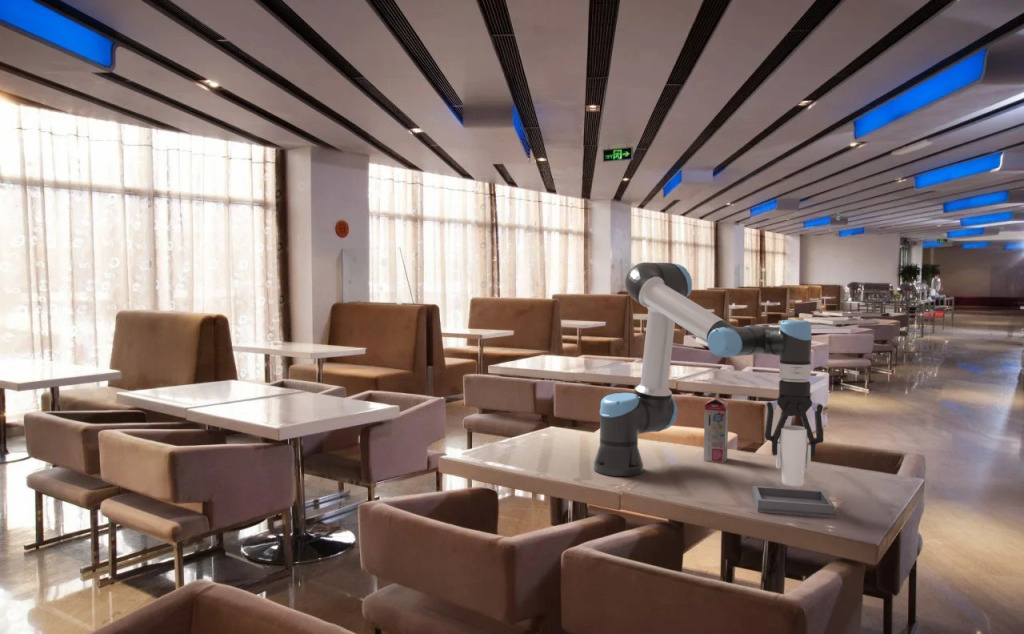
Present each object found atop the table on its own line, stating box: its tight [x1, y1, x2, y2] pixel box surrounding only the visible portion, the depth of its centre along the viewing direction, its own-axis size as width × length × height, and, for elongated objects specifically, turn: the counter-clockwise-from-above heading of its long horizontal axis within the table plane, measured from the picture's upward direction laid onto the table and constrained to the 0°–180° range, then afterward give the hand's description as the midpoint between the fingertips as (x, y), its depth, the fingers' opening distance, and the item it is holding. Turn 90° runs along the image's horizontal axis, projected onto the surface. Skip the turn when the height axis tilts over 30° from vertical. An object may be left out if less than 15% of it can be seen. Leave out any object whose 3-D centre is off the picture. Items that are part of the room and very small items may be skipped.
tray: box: [752, 485, 835, 519], centre depth 183 cm, size 18×13×3 cm
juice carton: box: [703, 391, 729, 464], centre depth 231 cm, size 7×7×22 cm
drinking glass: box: [778, 424, 808, 488], centre depth 182 cm, size 7×7×15 cm
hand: (792, 467), depth 182 cm, fingers closed on drinking glass, 7 cm apart
